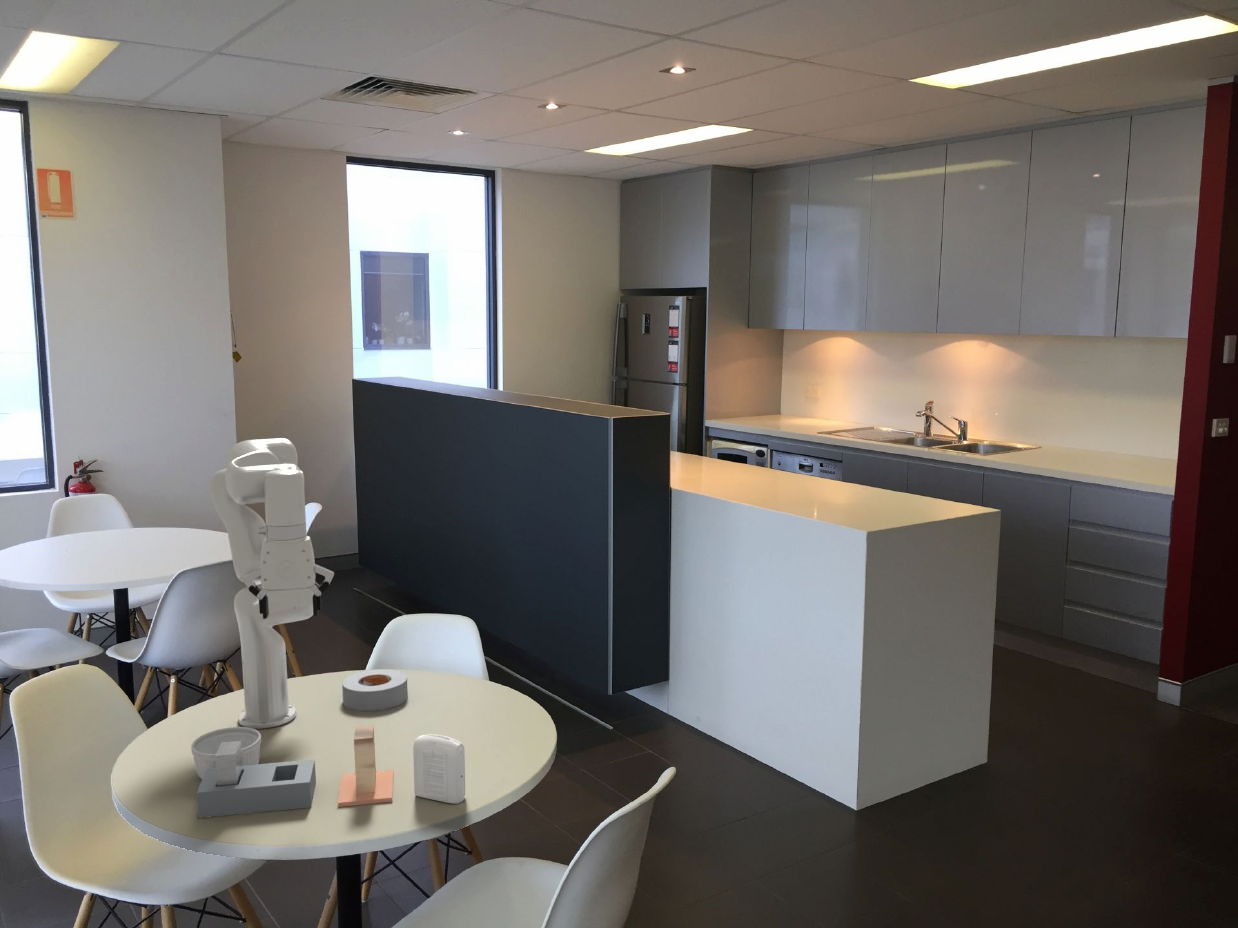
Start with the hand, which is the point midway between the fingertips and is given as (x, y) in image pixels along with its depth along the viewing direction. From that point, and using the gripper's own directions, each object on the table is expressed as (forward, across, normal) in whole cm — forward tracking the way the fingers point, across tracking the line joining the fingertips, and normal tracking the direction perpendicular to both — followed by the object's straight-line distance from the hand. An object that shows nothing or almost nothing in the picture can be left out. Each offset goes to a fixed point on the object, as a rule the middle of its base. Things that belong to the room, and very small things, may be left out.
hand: (291, 615), depth 199 cm
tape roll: (+33, +14, +35) cm, 50 cm away
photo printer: (+32, +28, -19) cm, 47 cm away
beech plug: (+32, +14, -13) cm, 37 cm away
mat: (+32, +14, -13) cm, 38 cm away
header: (+32, -6, -13) cm, 35 cm away
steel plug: (+32, -11, -13) cm, 37 cm away
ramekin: (+33, -14, +1) cm, 35 cm away
